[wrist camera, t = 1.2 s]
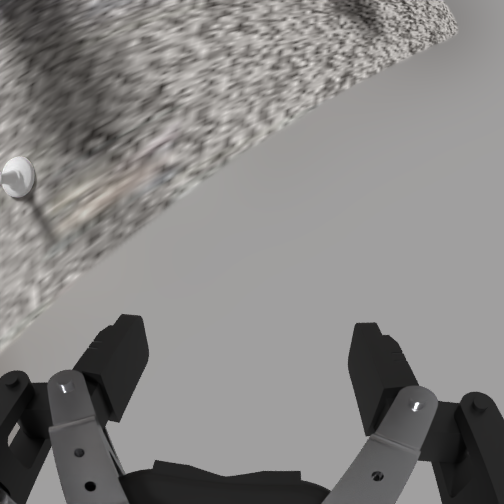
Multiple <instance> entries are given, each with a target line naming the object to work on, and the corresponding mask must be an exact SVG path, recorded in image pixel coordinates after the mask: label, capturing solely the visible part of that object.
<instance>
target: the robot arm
mask: <svg viewBox="0 0 504 504" xmlns="http://www.w3.org/2000/svg"><path fill="white" fill-rule="evenodd" d="M148 357H149V349H148V343H147V339H146V334H145V328H144V323H143V319H142V317H141V316H138V315H127V314H122V315H121V316H120V317H119V318H118V320H117V321H116V322H115V324H114V325H113V326H112V325H110V326H108V327H106V328H105V329H103V330H102V331H100V332H99V334H98V335H97V336H96V338H95V339H94V342H92V343H91V344H90V346H89V348H87V350H86V351H85V352H84V354H83V355H82V357H81V358H80V359H79V361H78V362H77V363H76V365H75V366H74V368H73V369H72V370H63V371H60V372H58V373H56V374H55V375H53V376H52V377H51V378H50V380H49V381H48V383H31V381H30V379H29V377H28V375H27V374H26V373H25V372H23V371H11V372H8V373H6V374H4V375H3V376H2V377H1V378H0V504H26V501H27V499H28V497H29V494H30V492H31V490H32V487H33V485H34V483H35V481H36V478H37V476H38V474H39V472H40V470H41V467H42V465H43V463H44V461H45V459H46V457H47V455H48V452H49V450H50V448H51V446H52V449H53V454H54V458H55V463H56V467H57V471H58V475H59V479H60V482H61V486H62V490H63V493H64V496H65V500H66V503H67V504H395V503H396V501H397V499H398V497H399V495H400V494H401V492H402V490H403V488H404V486H405V484H406V482H407V481H408V479H409V476H410V475H411V473H412V471H413V469H414V466H415V464H416V462H417V460H419V461H431V463H432V466H433V470H434V474H435V477H436V481H437V485H438V488H439V492H440V496H441V501H442V504H504V419H503V417H502V415H501V413H500V412H499V410H498V408H497V406H496V404H495V403H494V401H493V400H492V399H491V398H490V397H489V396H487V395H486V394H483V393H480V392H470V393H468V394H466V395H464V396H463V398H462V400H461V402H460V403H450V402H442V401H438V400H437V397H436V396H435V394H434V393H433V392H432V391H430V390H429V389H427V388H425V387H422V386H419V384H418V382H417V380H416V378H415V376H414V374H413V372H412V370H411V368H410V366H409V364H408V362H407V361H406V358H405V356H404V354H402V350H401V348H400V346H399V344H398V343H397V342H396V341H395V340H394V339H393V338H392V337H390V336H389V335H382V333H381V332H380V329H379V327H378V325H377V323H375V322H374V323H356V324H355V327H354V332H353V337H352V342H351V347H350V352H349V357H348V370H349V374H350V378H351V381H352V385H353V389H354V392H355V396H356V400H357V404H358V408H359V411H360V415H361V419H362V423H363V427H364V431H365V435H366V436H370V437H369V439H368V440H367V442H366V443H365V445H364V446H363V448H362V449H361V451H360V452H359V454H358V455H357V457H356V458H355V460H354V461H353V463H352V464H351V465H350V467H349V468H348V470H347V471H346V472H345V474H344V475H343V476H342V478H341V479H340V480H339V482H338V483H337V484H336V486H335V487H334V488H333V490H332V491H330V490H328V489H326V488H324V487H322V486H320V485H317V484H314V483H311V482H307V481H302V480H301V472H300V471H261V472H255V473H249V474H243V475H236V476H228V477H225V476H220V475H217V474H214V473H211V472H207V471H204V470H201V469H198V468H195V467H193V466H190V465H183V464H176V463H169V462H164V461H158V460H155V462H154V465H153V469H147V470H139V471H135V472H131V473H128V474H125V472H124V470H123V468H122V466H121V463H120V461H119V459H118V456H117V454H116V452H115V449H114V447H113V445H112V442H111V440H110V437H109V434H108V432H107V429H106V427H105V426H106V423H107V421H108V420H110V421H114V422H118V423H119V422H120V420H121V418H122V415H123V413H124V411H125V409H126V407H127V405H128V402H129V400H130V398H131V396H132V394H133V391H134V390H135V388H136V385H137V383H138V381H139V379H140V377H141V375H142V373H143V371H144V369H145V367H146V364H147V362H148ZM16 423H18V425H19V426H20V429H19V431H18V432H17V434H16V436H15V437H14V439H13V441H12V443H11V444H10V446H9V447H8V436H9V434H10V433H11V431H12V429H13V427H14V426H15V424H16Z"/></svg>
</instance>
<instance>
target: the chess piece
mask: <svg viewBox="0 0 504 504" xmlns="http://www.w3.org/2000/svg"><path fill="white" fill-rule="evenodd" d="M34 177H35V173H34V168H33V165H32V164H31V162H30V161H29V160H28V159H27V158H25V157H15V158H13V159H11V160H9V161H8V162H7V164H6V165H5V167H4V169H3V171H2V173H1V171H0V186H1V185H2V186H3V188H4V190H5V192H6V193H7V194H8V195H9V196H11V197H17V198H19V197H23V196H25V195H26V194H27V193H28V192H29V191H30V190H31V188H32V186H33V183H34Z"/></svg>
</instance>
